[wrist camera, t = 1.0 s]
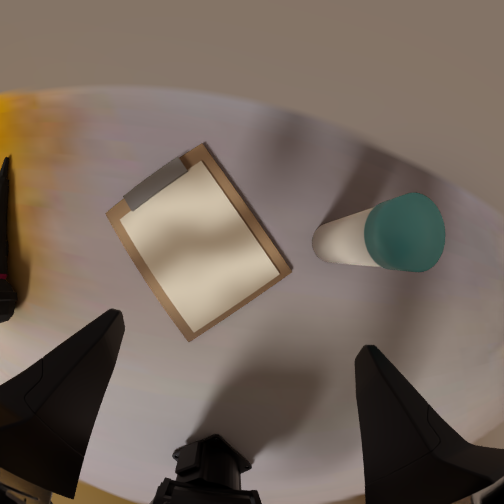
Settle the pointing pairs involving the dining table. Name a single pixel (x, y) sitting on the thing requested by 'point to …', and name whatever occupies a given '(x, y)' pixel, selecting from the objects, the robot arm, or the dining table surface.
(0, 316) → the microphone
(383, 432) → the robot arm
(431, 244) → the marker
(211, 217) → the clipboard
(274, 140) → the dining table surface
